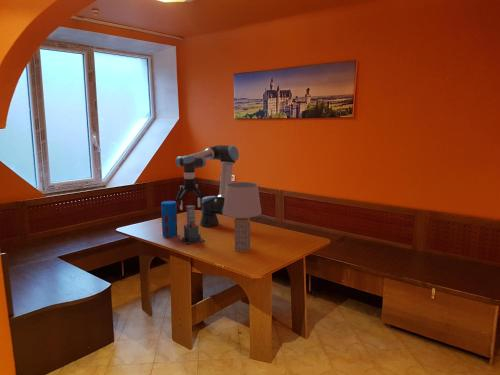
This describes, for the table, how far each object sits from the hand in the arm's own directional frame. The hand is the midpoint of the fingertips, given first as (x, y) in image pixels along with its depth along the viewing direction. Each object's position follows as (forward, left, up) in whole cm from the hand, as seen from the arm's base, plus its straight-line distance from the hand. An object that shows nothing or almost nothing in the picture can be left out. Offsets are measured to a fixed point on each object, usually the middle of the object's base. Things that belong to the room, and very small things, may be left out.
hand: (190, 208), depth 272 cm
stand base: (0, 0, -24) cm, 24 cm away
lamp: (-20, +36, -24) cm, 48 cm away
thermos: (+8, -20, -24) cm, 32 cm away
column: (0, 0, -22) cm, 22 cm away
